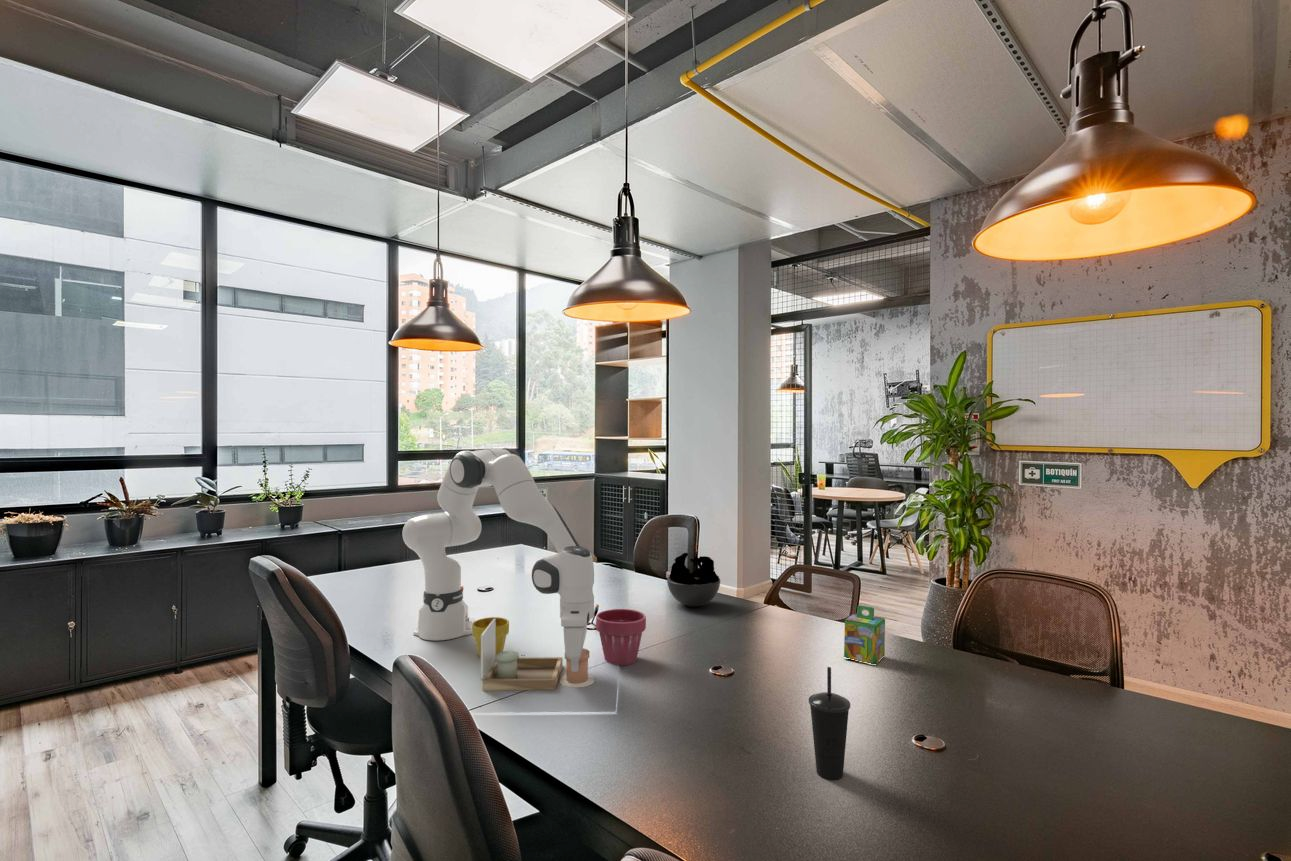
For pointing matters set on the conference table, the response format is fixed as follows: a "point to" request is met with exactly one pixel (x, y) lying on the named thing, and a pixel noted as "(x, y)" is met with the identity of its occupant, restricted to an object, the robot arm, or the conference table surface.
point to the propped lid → (488, 649)
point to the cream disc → (567, 684)
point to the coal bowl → (693, 581)
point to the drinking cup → (829, 731)
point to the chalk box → (864, 636)
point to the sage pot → (507, 664)
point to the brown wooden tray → (527, 675)
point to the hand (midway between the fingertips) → (576, 663)
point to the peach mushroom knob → (582, 673)
